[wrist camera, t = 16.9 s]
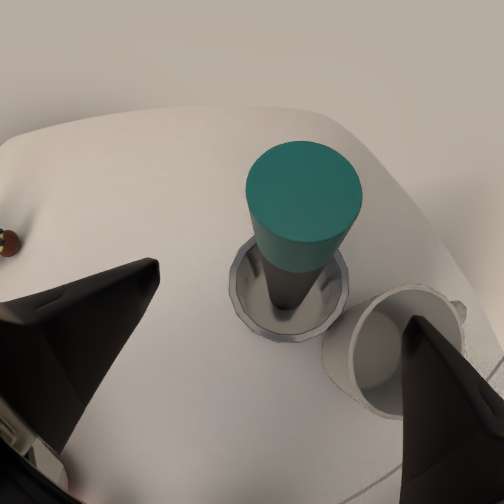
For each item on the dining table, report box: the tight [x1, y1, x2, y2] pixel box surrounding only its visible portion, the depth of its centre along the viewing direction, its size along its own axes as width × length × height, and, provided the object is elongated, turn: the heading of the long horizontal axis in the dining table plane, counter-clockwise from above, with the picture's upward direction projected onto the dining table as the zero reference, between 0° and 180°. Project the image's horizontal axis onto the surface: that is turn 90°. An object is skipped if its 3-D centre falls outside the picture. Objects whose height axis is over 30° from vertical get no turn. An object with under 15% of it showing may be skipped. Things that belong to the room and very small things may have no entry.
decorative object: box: [31, 438, 69, 491], centre depth 12 cm, size 15×15×15 cm
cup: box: [322, 284, 466, 420], centre depth 16 cm, size 7×10×9 cm
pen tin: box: [229, 235, 349, 342], centre depth 20 cm, size 8×8×5 cm
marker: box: [246, 141, 362, 310], centre depth 14 cm, size 3×3×16 cm
